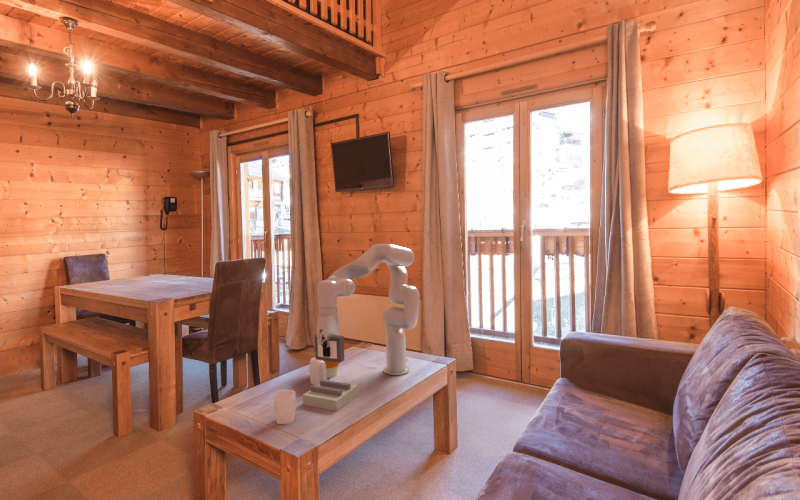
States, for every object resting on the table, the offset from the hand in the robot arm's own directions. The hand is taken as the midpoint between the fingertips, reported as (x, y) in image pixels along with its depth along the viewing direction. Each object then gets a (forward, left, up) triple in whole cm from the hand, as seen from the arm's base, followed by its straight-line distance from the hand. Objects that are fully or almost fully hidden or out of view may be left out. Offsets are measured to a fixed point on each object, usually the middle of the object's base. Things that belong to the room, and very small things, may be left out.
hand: (329, 354), depth 163 cm
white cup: (+21, -6, -19) cm, 29 cm away
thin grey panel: (0, 0, -2) cm, 2 cm away
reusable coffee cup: (-23, -17, -19) cm, 34 cm away
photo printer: (-11, -14, -19) cm, 26 cm away
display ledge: (0, 0, -19) cm, 19 cm away
